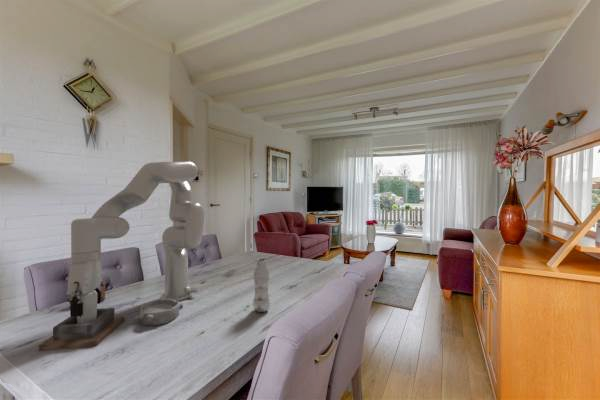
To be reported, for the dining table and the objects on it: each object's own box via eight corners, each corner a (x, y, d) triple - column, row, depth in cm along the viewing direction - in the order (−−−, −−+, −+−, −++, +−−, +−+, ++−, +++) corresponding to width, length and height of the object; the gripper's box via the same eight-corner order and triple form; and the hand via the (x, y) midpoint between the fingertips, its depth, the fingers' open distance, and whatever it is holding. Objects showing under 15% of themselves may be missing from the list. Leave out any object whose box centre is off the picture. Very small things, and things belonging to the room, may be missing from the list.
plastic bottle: (256, 315, 101) (256, 262, 101) (250, 309, 107) (251, 258, 107) (272, 312, 104) (272, 260, 104) (266, 306, 110) (266, 257, 110)
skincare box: (75, 328, 87) (75, 291, 87) (92, 323, 91) (92, 287, 91) (80, 334, 83) (80, 295, 83) (97, 329, 87) (97, 292, 87)
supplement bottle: (95, 304, 111) (95, 277, 111) (84, 303, 112) (84, 276, 112) (108, 299, 117) (108, 273, 117) (97, 298, 118) (97, 272, 118)
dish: (151, 331, 89) (151, 316, 89) (129, 320, 97) (129, 307, 97) (189, 315, 102) (189, 302, 102) (167, 307, 109) (167, 295, 109)
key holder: (124, 320, 97) (124, 305, 97) (96, 345, 80) (97, 327, 80) (77, 323, 94) (77, 307, 94) (38, 350, 77) (38, 331, 77)
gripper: (89, 251, 95) (89, 300, 95) (53, 263, 78) (53, 322, 78) (113, 251, 96) (113, 298, 96) (82, 262, 79) (82, 320, 79)
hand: (86, 309), depth 87 cm, fingers open, 9 cm apart
